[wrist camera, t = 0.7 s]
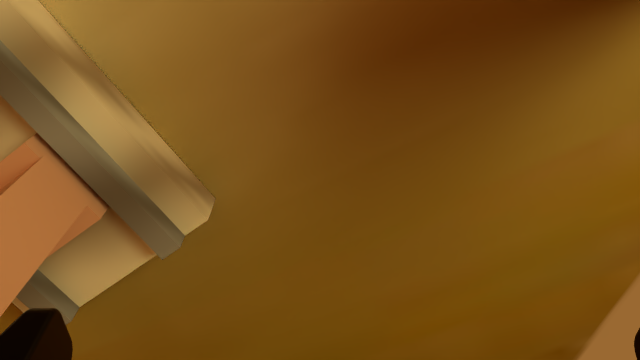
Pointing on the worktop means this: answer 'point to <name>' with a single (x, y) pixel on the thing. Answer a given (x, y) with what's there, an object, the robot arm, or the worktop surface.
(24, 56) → the slider board
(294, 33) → the worktop surface
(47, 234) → the fader tab
